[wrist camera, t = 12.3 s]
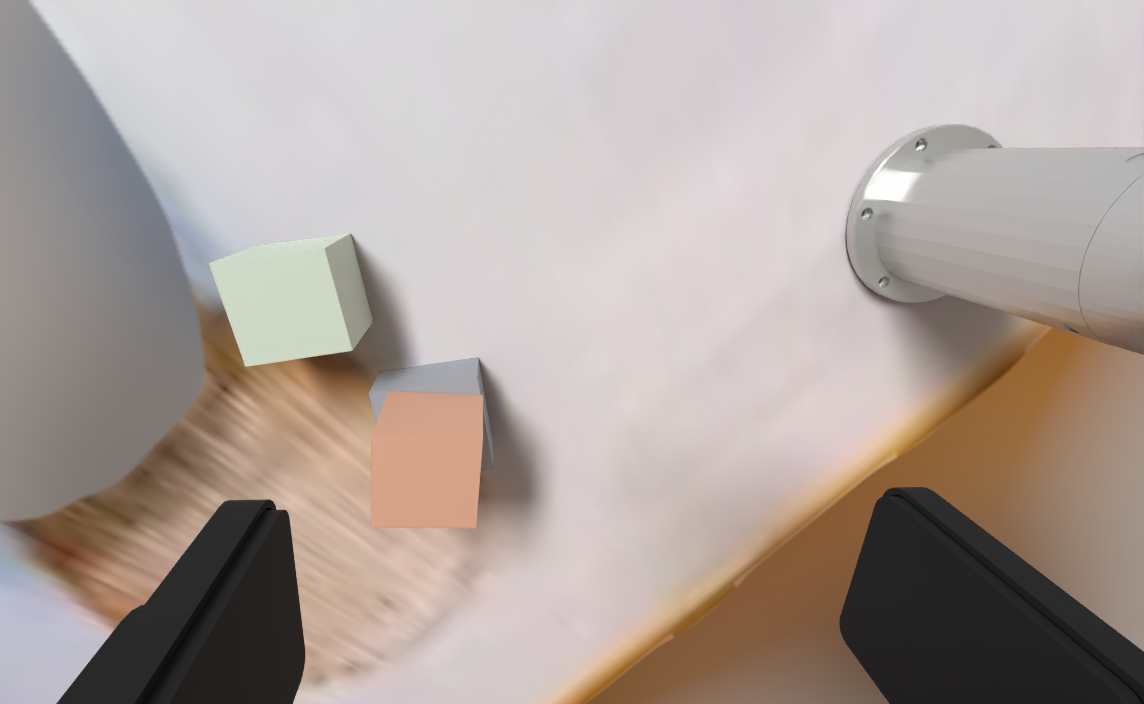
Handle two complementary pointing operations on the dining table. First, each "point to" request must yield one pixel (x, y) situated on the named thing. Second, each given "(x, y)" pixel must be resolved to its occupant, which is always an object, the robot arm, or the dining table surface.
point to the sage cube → (294, 298)
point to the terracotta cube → (426, 461)
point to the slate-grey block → (437, 390)
